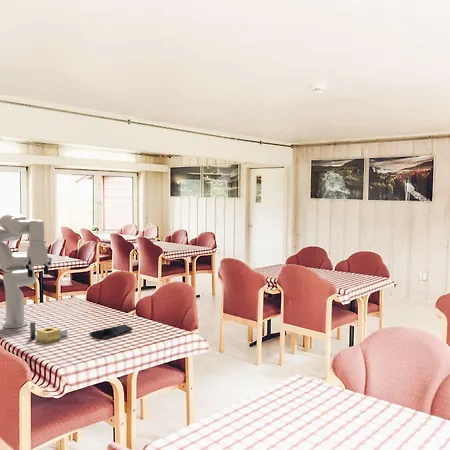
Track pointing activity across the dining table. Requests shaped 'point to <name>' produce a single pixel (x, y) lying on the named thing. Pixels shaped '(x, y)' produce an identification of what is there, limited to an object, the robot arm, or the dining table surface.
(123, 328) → the dark slate chunk
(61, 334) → the square hole fixture
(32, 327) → the grey metal peg
